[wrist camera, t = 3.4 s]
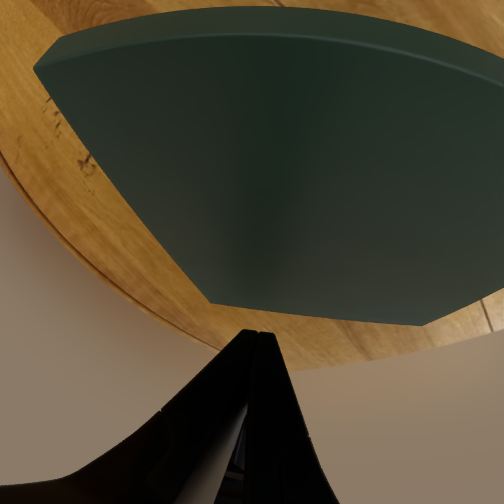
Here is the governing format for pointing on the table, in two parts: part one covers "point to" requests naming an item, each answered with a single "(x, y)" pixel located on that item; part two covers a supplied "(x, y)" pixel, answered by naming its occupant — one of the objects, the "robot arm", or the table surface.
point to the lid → (299, 155)
